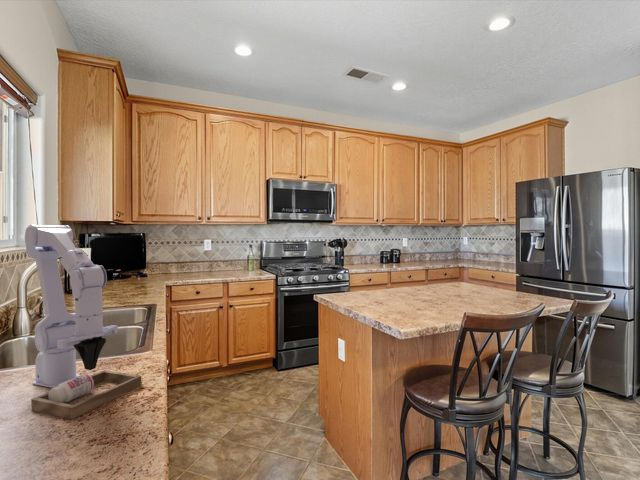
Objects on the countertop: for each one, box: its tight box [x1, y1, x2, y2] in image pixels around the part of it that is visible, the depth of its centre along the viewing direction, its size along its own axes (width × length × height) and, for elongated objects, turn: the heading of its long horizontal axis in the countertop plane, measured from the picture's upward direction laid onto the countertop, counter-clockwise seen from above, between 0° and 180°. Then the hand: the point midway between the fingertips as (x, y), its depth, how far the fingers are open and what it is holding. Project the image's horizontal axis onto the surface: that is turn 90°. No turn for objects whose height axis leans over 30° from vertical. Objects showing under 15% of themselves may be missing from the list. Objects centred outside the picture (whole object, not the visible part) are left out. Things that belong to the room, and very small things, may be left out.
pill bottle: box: [48, 373, 95, 404], centre depth 86 cm, size 5×5×8 cm
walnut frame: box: [30, 369, 142, 420], centre depth 88 cm, size 14×18×2 cm
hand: (90, 368), depth 88 cm, fingers closed
